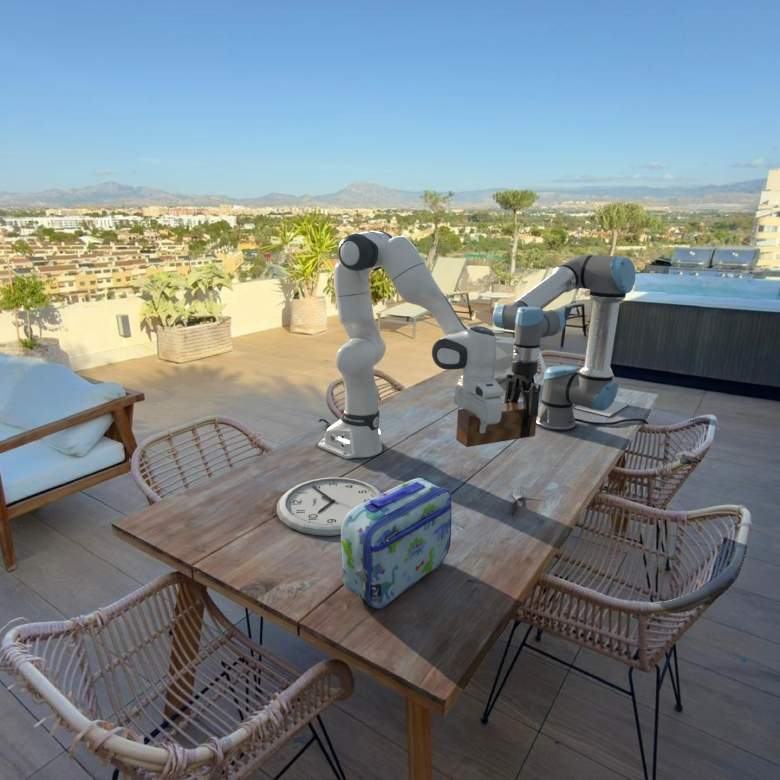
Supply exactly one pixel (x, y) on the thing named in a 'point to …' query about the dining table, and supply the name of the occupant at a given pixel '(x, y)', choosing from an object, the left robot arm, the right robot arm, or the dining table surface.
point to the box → (493, 426)
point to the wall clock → (323, 504)
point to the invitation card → (608, 412)
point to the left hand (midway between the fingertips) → (474, 428)
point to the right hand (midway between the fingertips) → (518, 432)
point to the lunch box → (395, 540)
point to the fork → (517, 496)
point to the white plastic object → (509, 357)
